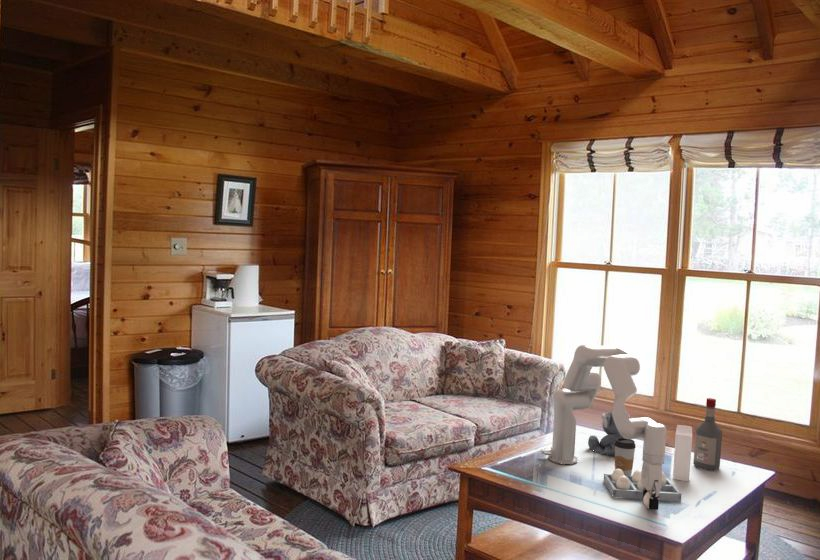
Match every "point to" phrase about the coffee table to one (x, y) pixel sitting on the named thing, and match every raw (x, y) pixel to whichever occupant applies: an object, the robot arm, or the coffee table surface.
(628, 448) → the coffee cup
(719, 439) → the liquor
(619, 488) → the carton
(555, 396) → the robot arm
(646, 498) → the egg
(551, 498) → the coffee table surface
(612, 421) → the koala plush
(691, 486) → the coffee table surface
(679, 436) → the milk
